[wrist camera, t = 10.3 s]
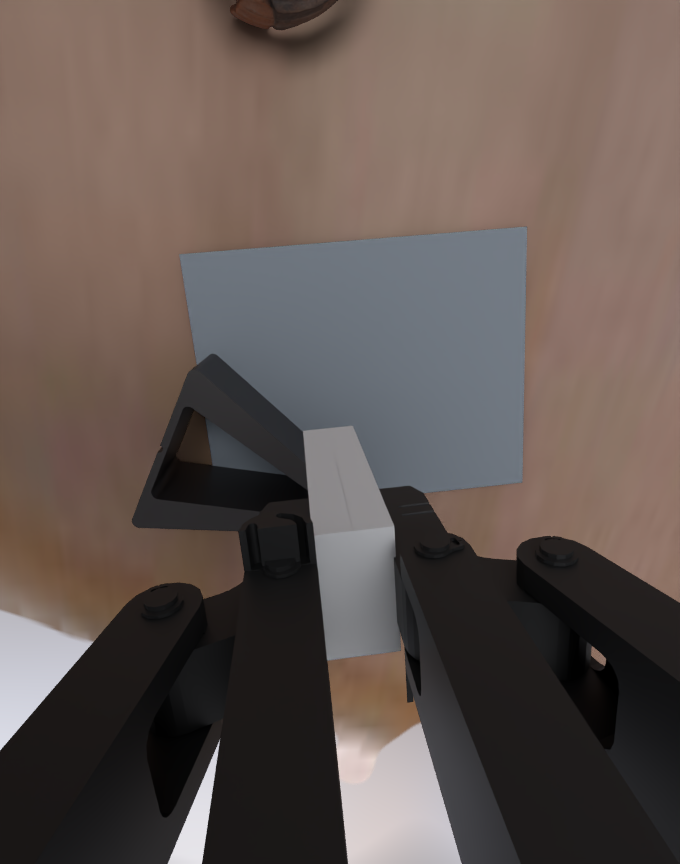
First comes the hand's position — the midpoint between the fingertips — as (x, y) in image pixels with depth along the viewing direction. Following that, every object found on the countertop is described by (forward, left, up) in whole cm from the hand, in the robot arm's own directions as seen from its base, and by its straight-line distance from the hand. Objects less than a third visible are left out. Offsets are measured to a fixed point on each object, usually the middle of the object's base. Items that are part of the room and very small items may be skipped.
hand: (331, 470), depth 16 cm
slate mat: (+3, 0, -17) cm, 17 cm away
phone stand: (-8, -2, -14) cm, 16 cm away
